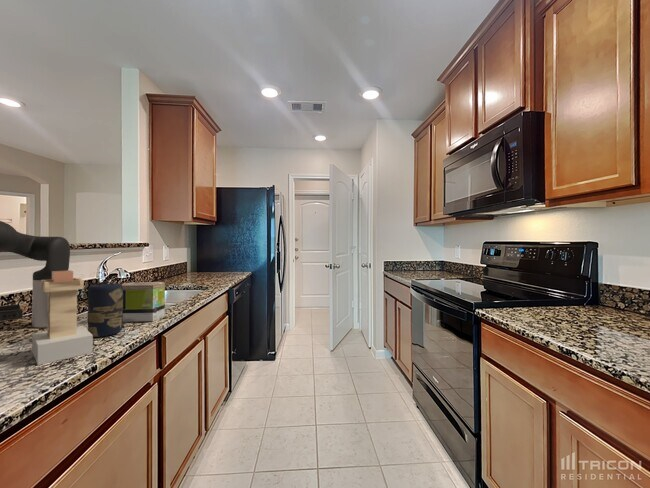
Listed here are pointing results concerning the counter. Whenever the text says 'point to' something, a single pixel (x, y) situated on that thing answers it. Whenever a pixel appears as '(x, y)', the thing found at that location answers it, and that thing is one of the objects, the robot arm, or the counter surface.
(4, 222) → the robot arm
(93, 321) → the canister
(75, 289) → the pedestal tray
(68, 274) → the cargo block
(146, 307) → the tea box
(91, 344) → the dock
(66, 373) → the counter surface
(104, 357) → the counter surface
